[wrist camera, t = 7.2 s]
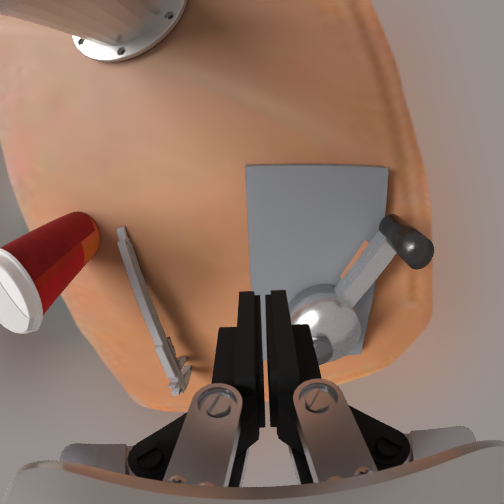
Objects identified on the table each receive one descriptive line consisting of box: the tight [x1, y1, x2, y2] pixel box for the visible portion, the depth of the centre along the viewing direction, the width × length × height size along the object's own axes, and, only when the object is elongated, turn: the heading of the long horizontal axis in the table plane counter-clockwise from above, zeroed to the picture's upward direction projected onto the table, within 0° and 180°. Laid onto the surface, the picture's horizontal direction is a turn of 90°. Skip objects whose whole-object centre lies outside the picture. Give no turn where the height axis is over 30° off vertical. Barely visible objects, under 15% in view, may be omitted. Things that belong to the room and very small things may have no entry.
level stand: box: [245, 164, 389, 360], centre depth 29 cm, size 22×13×2 cm, turn 2°
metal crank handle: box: [288, 214, 434, 365], centre depth 25 cm, size 16×7×7 cm, turn 149°
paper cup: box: [0, 212, 100, 334], centre depth 22 cm, size 8×8×14 cm
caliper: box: [116, 226, 192, 396], centre depth 30 cm, size 20×1×6 cm, turn 15°
